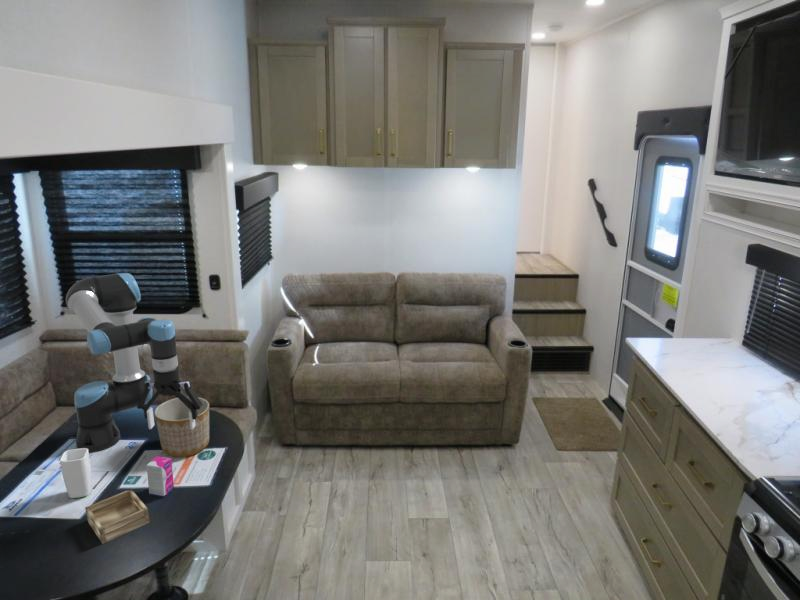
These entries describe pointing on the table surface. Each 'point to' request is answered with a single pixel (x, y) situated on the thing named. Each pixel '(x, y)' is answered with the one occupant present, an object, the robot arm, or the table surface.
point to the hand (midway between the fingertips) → (172, 427)
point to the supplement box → (160, 476)
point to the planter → (182, 428)
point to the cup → (76, 472)
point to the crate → (117, 515)
